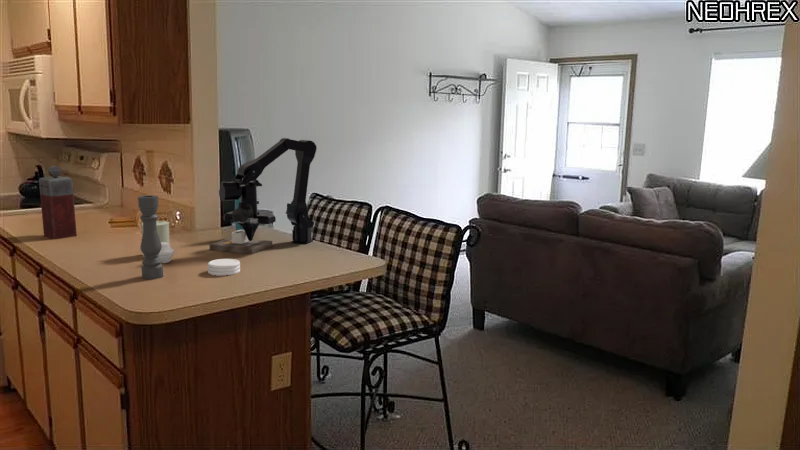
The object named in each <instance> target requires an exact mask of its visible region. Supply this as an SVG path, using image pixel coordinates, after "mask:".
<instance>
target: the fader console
mask: <svg viewBox="0 0 800 450" xmlns="http://www.w3.org/2000/svg"><path fill="white" fill-rule="evenodd" d="M272 247H273V240H265V239H257V238H256V239H255V238H253V239H252V241H248V242H245V243H242V244H237V243H232V236H231V237H228V238H225V239H222V240H219V241H217V242H216V241H215V242H213V243H210V244H209V251H218V252H219V251H220V252H228V253H237V254H250V255H253V254H256V253H258V252H261V251H265V250H266V249H269V248H272Z"/></svg>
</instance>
